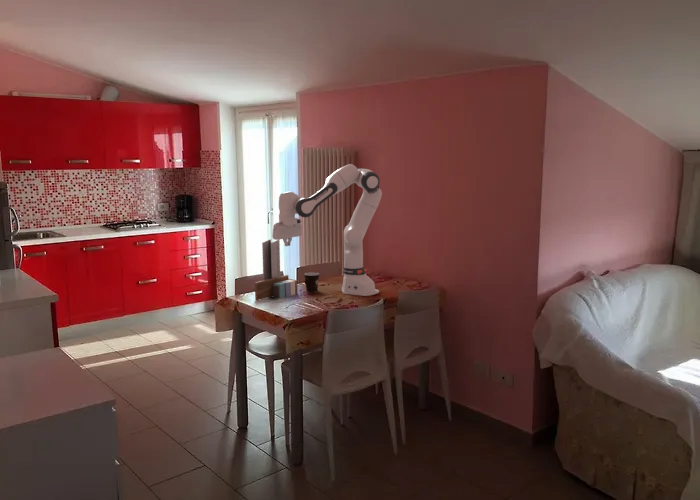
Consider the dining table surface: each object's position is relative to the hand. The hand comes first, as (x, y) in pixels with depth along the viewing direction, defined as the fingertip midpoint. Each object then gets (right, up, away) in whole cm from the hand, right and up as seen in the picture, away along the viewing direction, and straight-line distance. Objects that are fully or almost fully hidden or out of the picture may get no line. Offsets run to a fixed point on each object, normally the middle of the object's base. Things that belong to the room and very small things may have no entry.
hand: (287, 245), depth 329 cm
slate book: (-2, -28, +7) cm, 29 cm away
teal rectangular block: (-5, -29, +4) cm, 30 cm away
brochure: (-11, -27, +17) cm, 34 cm away
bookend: (-8, -29, +1) cm, 30 cm away
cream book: (0, -28, +11) cm, 30 cm away
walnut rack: (-7, -29, +5) cm, 30 cm away
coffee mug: (+11, -27, +19) cm, 34 cm away
